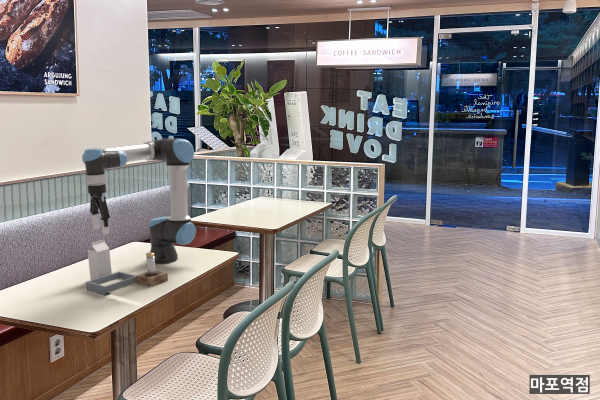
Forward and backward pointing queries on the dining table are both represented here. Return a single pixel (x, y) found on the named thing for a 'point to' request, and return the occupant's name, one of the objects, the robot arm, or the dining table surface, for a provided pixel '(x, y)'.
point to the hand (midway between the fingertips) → (101, 231)
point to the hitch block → (151, 278)
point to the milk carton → (99, 260)
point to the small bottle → (150, 264)
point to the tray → (102, 290)
